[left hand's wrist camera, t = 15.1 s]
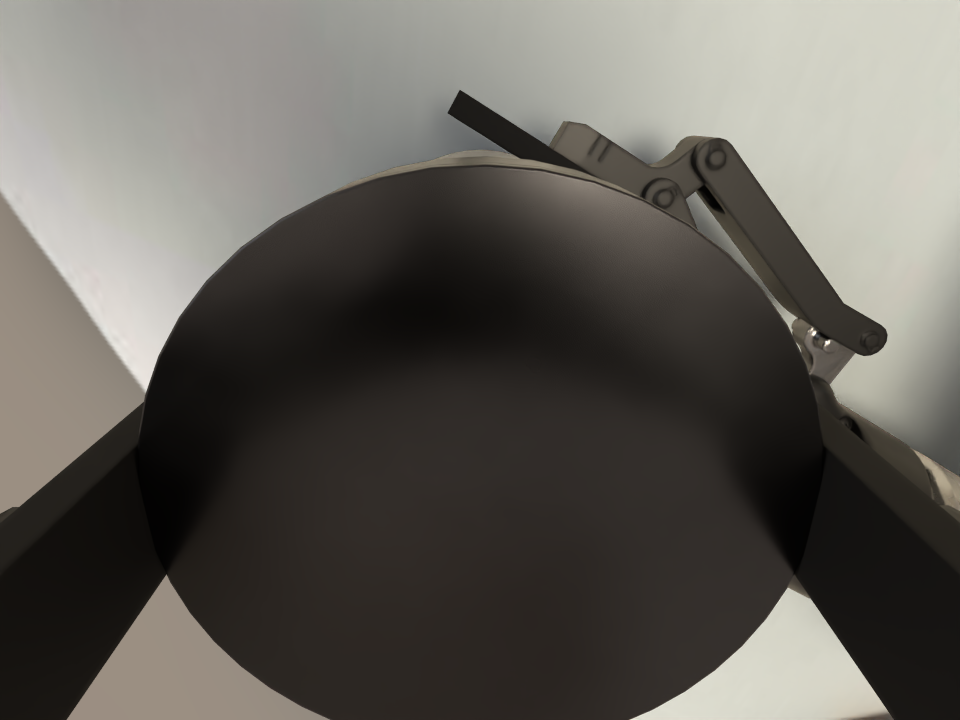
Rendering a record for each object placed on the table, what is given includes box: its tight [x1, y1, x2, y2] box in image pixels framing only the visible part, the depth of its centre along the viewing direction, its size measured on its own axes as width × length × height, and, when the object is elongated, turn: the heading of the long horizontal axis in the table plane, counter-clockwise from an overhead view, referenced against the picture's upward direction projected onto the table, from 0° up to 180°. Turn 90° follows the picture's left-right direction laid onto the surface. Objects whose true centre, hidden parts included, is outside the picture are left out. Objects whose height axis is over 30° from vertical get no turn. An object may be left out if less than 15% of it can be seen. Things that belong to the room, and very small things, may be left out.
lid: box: [138, 156, 823, 720], centre depth 11 cm, size 12×12×2 cm
